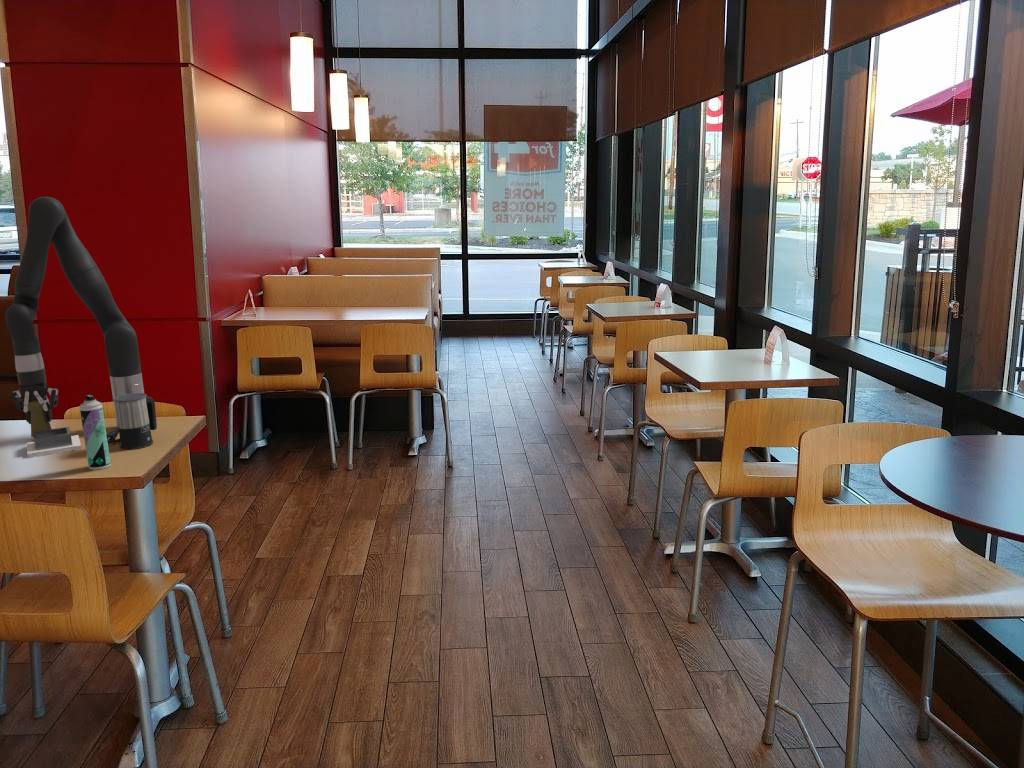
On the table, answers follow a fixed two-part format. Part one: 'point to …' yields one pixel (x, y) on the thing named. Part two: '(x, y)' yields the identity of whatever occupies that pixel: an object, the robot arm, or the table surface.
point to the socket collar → (52, 438)
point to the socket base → (32, 451)
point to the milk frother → (134, 421)
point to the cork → (37, 417)
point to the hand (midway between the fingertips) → (39, 422)
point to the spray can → (94, 434)
